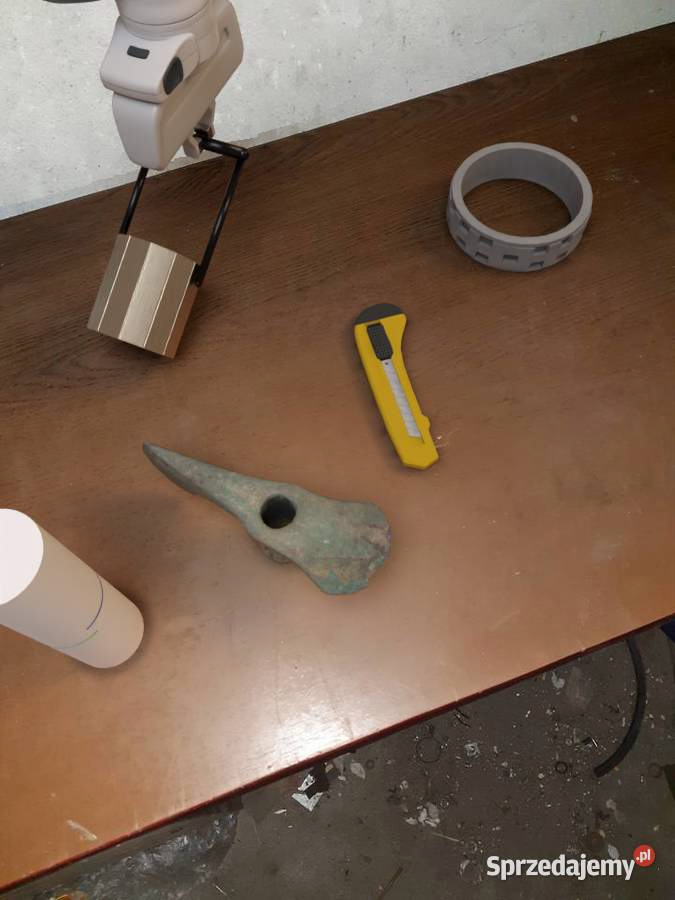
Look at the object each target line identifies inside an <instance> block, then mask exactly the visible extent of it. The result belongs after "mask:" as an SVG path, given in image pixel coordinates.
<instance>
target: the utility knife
mask: <svg viewBox="0 0 675 900" xmlns="http://www.w3.org/2000/svg"><path fill="white" fill-rule="evenodd" d="M406 324H407V318H406V315H405V313H404V312H403V310H402V309H401V308H400V307H399V306H396V305H395V304H393V303H388V302H382V303H376V304H374V305H372V306H369V307H367V308H365V309H364V310H362V311H361V312H360V314H359V315H358V316H357V317H356V320H355V324H354V340H355V344H356V347H357V352H358V354H359V357H360V361H361V364H362V367H363V370H364V374H365V375H366V378H367V381H368V384H369V387H370V389H371V393H372V396H373V398H374V401H375V404H376V407H377V409H378V411H379V414H380V417H381V419H382V421H383V425H384V426H385V429H386V433H387V434H388V436H389V439H390V441H391V444H392V445H393V448H394V449H395V451H396V453H397V455H398V458H399V460H400V461H401V464H402V466H403V467H405V468H412V469H415V470H421V471H425V470H426V469H428V468H429V467H430V466H432V465H433V464H435V463H436V462H438V461H439V454H438V451H437V449H436V446H435V443H434V441H433V438H432V435H431V432H430V427H431V423H430V420H429V417H428V416H426V415H424V414H423V413H422V410H421V408H420V405H419V402H418V400H417V398H416V394H415V392H414V390H413V389H414V388H413V387H412V384H411V382H410V378H409V375H408V372H407V369H406V368H405V363H404V359H403V353H402V341H403V336H404V332H405V328H406Z"/></svg>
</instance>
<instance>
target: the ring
mask: <svg viewBox="0 0 675 900" xmlns="http://www.w3.org/2000/svg"><path fill="white" fill-rule="evenodd" d="M500 179H501V180H503V179H516V180H524V181H528V182H532V183H535V184H537V185H540V186H542V187H545V189H547V190H549V191H550V192H552V193H554V194H555V195H556V196H558V198H559V199H560V200H561V201H562V202H563V203H564V205H565V206H566V208H567V210H568V212H569V214H570V218H571V222H570V223H569V224H567V225H566V226H565V227H562V228H561V229H559V230H558V231H554V232H552V233H549V234H545V235H538V236H517V235H511V234H507V233H503V232H500V231H497V230H495V229H493V228H491V227H488V226H487V225H485V224H484V223H483V222H481V221H479V220H478V219H477V218H476V217H475V216H474V215H473V214H472V213H471V212H470V211H469V209H468V207H467V206H466V204H465V201H464V198H465V196H466V195H467V194H469V192H470V191H471V190H473V189H474V188H476V187H478V186H480V185H482V184H484V183H488V182H491V181H495V180H500ZM593 196H594V195H593V191H592V185H591V183H590V181H589V179H588V177H587V175H586V174H585V173H584V171H583V169H582V168H580V166H579V165H578V164H577V163H576V162H574V161H573V160H572V159H571V158H569V157H568V156H566V155H565V154H563V153H561V152H560V151H557V150H556V149H552V148H550V147H547V146H545V145H540V144H537V143H531V142H524V141H522V142H521V141H519V142H518V141H517V142H515V141H512V142H511V141H510V142H509V141H508V142H502V143H495V144H493V145H489V146H486V147H483V148H481V149H479V150H477V151H475V152H473V153H472V154H470V156H468V157H467V158H465V160H464V161H463V162H462V163H461V164H460V165H459V167H458V168H457V170H456V171H455V172H454V174H453V176H452V178H451V182H450V185H449V191H448V197H447V203H446V204H447V205H446V211H445V214H446V215H445V216H446V223H447V227H448V230H449V232H450V235H451V237H452V238H453V240H454V242H455V243H456V245H457V246H458V247H459V248H460V249H461V250H462V251H463V252H464V253H465V254H466V255H467V256H468V257H470V258H472V259H473V260H474V261H477V262H478V263H481V264H482V265H484V266H487V267H490V268H493V269H497V270H501V271H506V272H512V273H513V272H514V273H518V272H519V273H521V272H522V273H525V272H526V273H528V272H534V271H539V270H543V269H546V268H549V267H552V266H554V265H556V264H557V263H559V262H561V261H563V260H564V259H565V258H566V257H568V256H569V255H570V254H571V253H572V252H573V251H574V250H575V249H576V248H577V246H578V245H579V243H580V242H581V239H582V236H583V234H584V232H585V230H586V227H587V225H588V222H589V219H590V217H591V215H592V211H593V209H592V206H593V201H594V197H593Z"/></svg>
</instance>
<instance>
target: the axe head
mask: <svg viewBox="0 0 675 900" xmlns="http://www.w3.org/2000/svg"><path fill="white" fill-rule="evenodd" d="M142 453H143V454H144V455H145V456H146V457H147V460H149V461H150V463H151V464H152V465H153V466H154V467H155V468H156V469H157V470H158V471H159V472H160V473H161V474H162V475H164V476H165V477H166V478H167V479H168V480H170V482H172V483H173V484H175V485H176V486H178V487H179V488H181V489H182V490H184V491H185V492H187V493H189V494H191V495H192V496H200V497H203V498H204V499H206V500H208V501H210V502H211V503H212V504H215V505H216V506H218V507H219V508H221V509H222V510H223V511H225V512H227V513H228V514H230V515H231V516H232V517H233V518H235V519H236V520H237V521H238V522H239V523H240V524H241V525H242V527H243V528H244V530H245V531H246V532H247V533H248V535H249V537H250V538H251V539H252V540H253V541H256V542H258V543H259V545H260V548H261V550H262V552H263V554H264V555H265V556H266V558H267V559H269V560H271V561H272V562H275V563H281V564H290V563H293V564H294V565H296V566H297V568H299V569H300V571H302V572H303V573H304V574H305V575H306V576H307V577H308V578H309V580H311V582H313V583H314V584H315V586H316V587H317V588H318V589H319V590H320V592H322V593H324V594H326V595H330V596H347V595H353V594H356V593H358V592H360V591H362V590H364V589H367V588H368V587H369V586H370V580H371V578H372V577H373V575H374V574H375V572H376V571H378V570H379V569H381V568H382V566H383V565H384V564H385V562H387V561H388V559H389V557H390V554H391V551H392V530H391V525H390V522H389V520H388V518H387V515H386V514H385V512H384V511H383V510H382V508H380V507H379V506H378V505H377V504H375V503H373V502H370V501H349V500H340V499H335V498H330V497H327V496H323V495H321V494H318V493H315V492H313V491H310V490H307V488H304V487H302V486H299V485H296V484H295V483H291V482H284V481H277V480H271V479H266V478H265V479H264V478H260V477H256V476H255V477H254V476H251V475H248V474H244V473H241V472H238V471H234V470H230V469H227V468H225V467H224V468H223V467H220V466H218V465H215V464H212V463H209V462H205V461H203V460H200V459H197V458H194V457H191V456H188V455H186V454H182V453H180V452H177V451H174V450H172V449H170V448H167V447H164V446H161V445H158V444H154V443H151V442H142ZM283 523H288V524H287V525H286V526H283V527H280V528H275V527H276V526H278V525H279V524H283Z"/></svg>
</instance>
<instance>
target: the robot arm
mask: <svg viewBox="0 0 675 900" xmlns="http://www.w3.org/2000/svg"><path fill="white" fill-rule="evenodd" d="M42 1H43V2H47V3H51V4H58V5H59V4H61V5H69V4H84V3H93V2H99V1H101V0H42ZM114 2H115V5H116V7H117V10H118V16H117V18H116V21H115V24H114V25H115V26H114V30H113V34H112V36H111V39H110V43H109V45H108V47H107V51H106V53H105V55H104V57H103V60H102V62H101V63H100V67H99V77H100V81H101V83H102V86H103V87H104V89H107V90H109V91H111V92H113V93H112V96H111V97H112V99H111V109H112V115H113V120H114V122H115V126H116V128H117V132H118V135H119V138H120V141H121V144H122V147H123V149H124V151H125V154H126V155H127V157H128V159H129V160H130V162H132V163H133V164H134V165H137V166H139V167H141V166H142V167H145V168H148V169H149V170H151V171H152V170H153V171H158V172H163V171H165V169H167V168H168V166H169V164H170V163H171V162H172V160H173V158H174V157H175V156H176V154H177V153H178V151H180V149H181V147H182V151H183V154H184V155H185V156H186V157H187V158H189V159H190V158H191V159H194V160H198V159H199V158H200V156H201V155H202V153H203V152H204V151H205V150H204V147H203V142H202V139H201V138H197V137H195V138H194V137H193V136H192V135H193V134H194V133H195V134H198V135H202V136H205V137H209V138H212V139H214V136H215V135H216V129H215V125H214V121H215V113H216V106H217V101H216V99H217V97H218V95H219V94H220V93H221V91H222V90H223V89H224V87H225V86H226V85H227V83H228V82H229V80H230V79H231V78H232V76H233V75H234V73H235V72H236V70H237V69H238V68H239V66H240V65H241V64H242V63H243V58H244V51H245V48H244V47H245V45H244V40H243V35H242V30H241V27H240V24H239V19H238V15H237V13H236V8H235V7H234V5H233V3H232V2H231V1H230V0H114Z"/></svg>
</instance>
